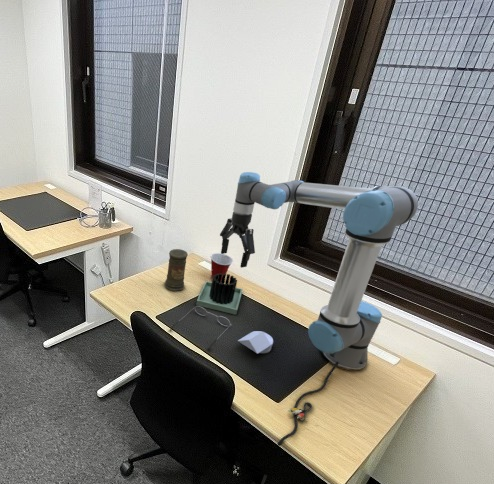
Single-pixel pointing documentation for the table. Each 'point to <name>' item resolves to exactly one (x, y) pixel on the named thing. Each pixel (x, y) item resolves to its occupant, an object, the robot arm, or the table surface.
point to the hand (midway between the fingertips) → (233, 259)
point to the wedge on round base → (257, 342)
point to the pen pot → (222, 288)
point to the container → (176, 270)
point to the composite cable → (301, 411)
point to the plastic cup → (220, 263)
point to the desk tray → (208, 303)
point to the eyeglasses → (205, 315)
